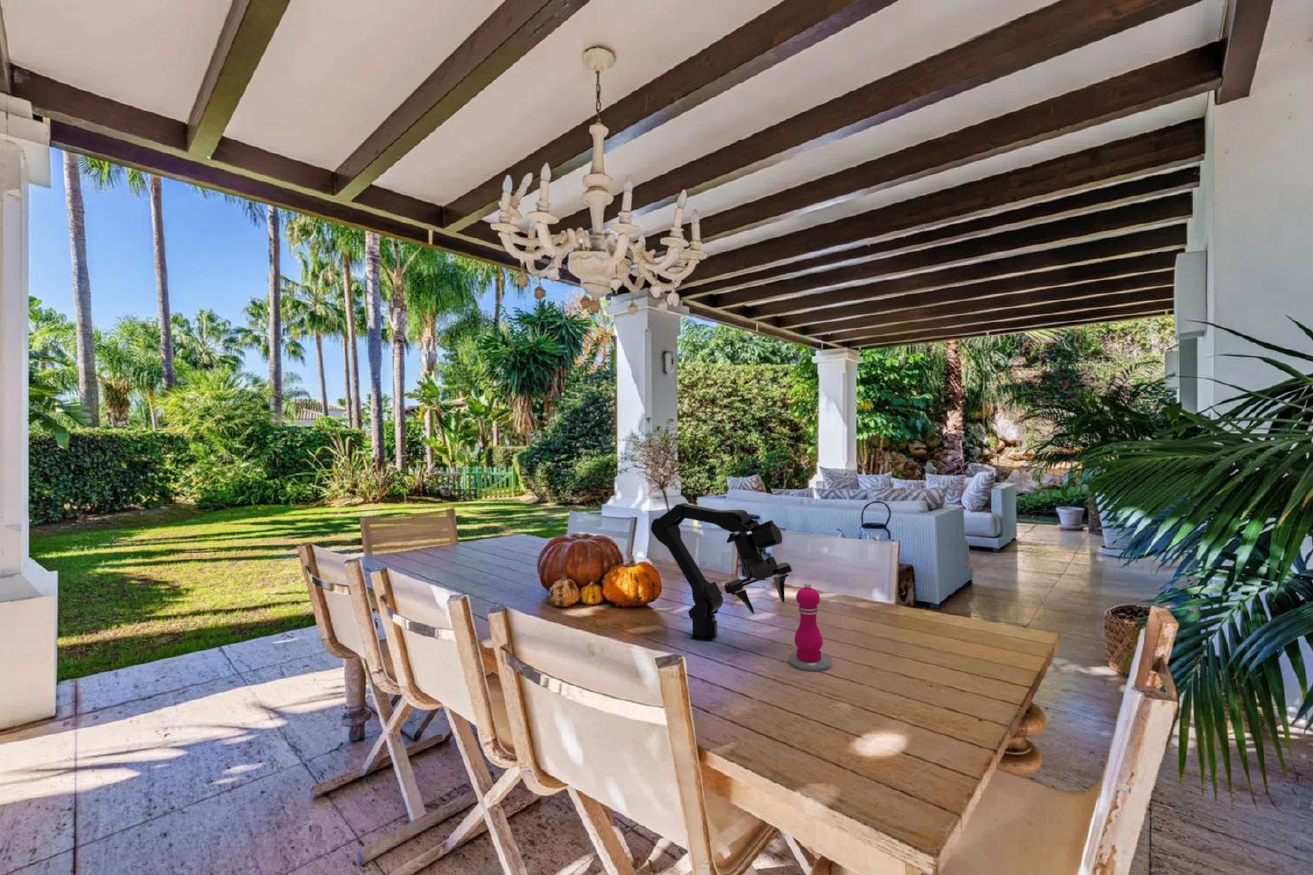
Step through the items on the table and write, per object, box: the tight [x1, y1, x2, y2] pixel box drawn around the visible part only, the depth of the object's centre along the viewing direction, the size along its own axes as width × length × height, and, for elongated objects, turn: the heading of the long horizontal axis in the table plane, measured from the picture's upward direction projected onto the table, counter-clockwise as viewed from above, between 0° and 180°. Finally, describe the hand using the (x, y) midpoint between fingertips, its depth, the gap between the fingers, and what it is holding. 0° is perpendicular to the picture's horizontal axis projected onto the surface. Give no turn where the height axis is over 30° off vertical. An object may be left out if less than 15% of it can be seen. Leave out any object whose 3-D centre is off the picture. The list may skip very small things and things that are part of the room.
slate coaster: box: [788, 650, 833, 673], centre depth 152 cm, size 11×11×1 cm
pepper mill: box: [794, 581, 824, 662], centre depth 152 cm, size 7×7×20 cm
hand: (768, 607), depth 161 cm, fingers open, 9 cm apart
